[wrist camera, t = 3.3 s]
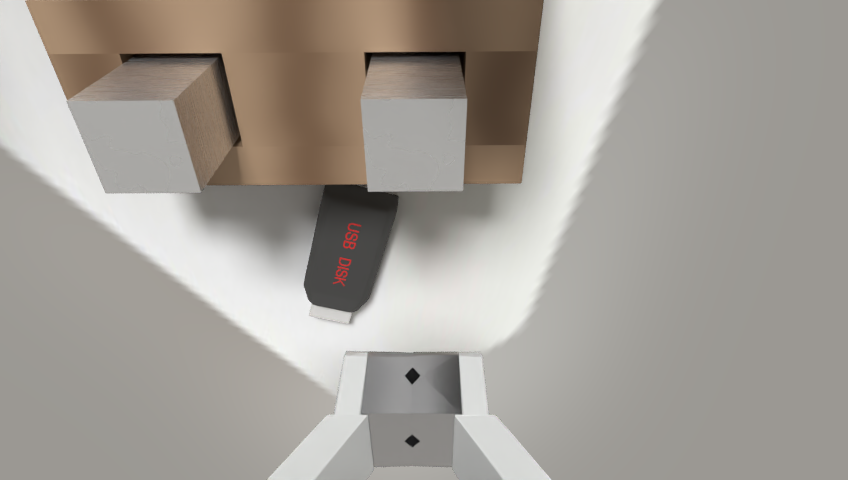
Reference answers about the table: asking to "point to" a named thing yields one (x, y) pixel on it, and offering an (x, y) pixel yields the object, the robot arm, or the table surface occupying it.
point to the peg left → (158, 122)
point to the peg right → (414, 122)
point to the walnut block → (314, 71)
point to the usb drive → (347, 249)
